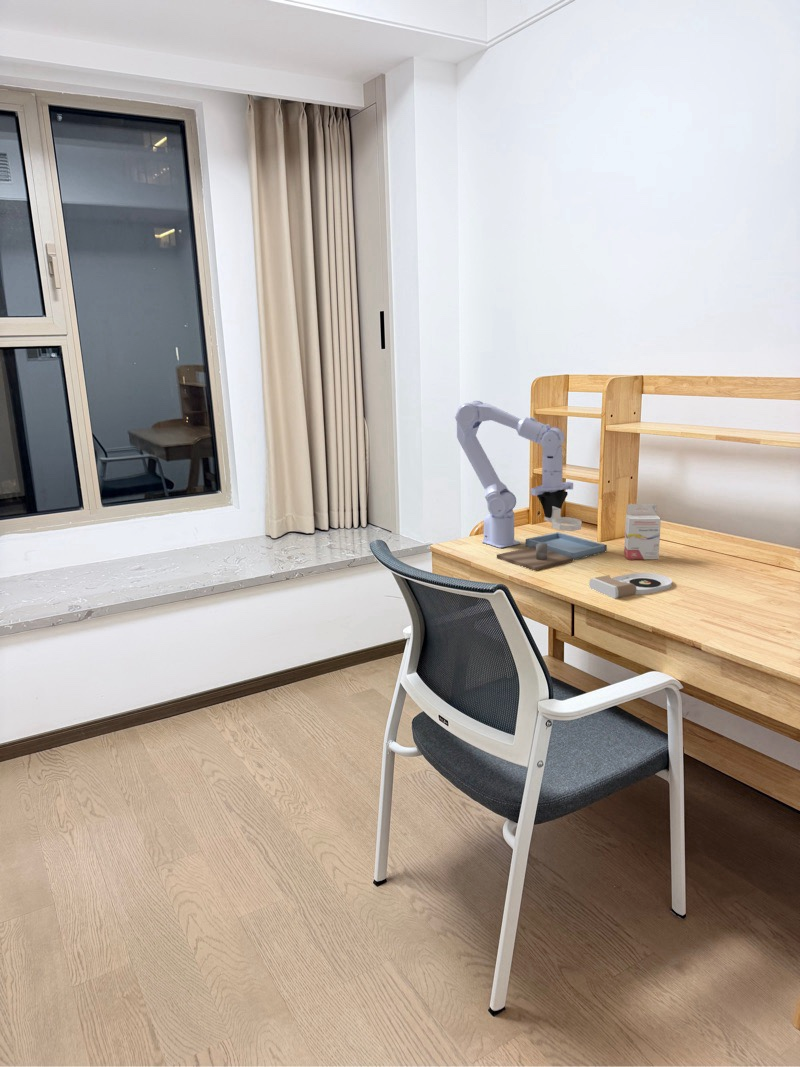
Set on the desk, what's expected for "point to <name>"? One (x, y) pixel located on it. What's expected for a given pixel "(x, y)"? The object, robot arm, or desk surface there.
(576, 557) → the tray
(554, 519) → the ring
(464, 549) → the desk surface
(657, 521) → the ink cartridge box
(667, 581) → the record player
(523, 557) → the stake board
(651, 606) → the desk surface
